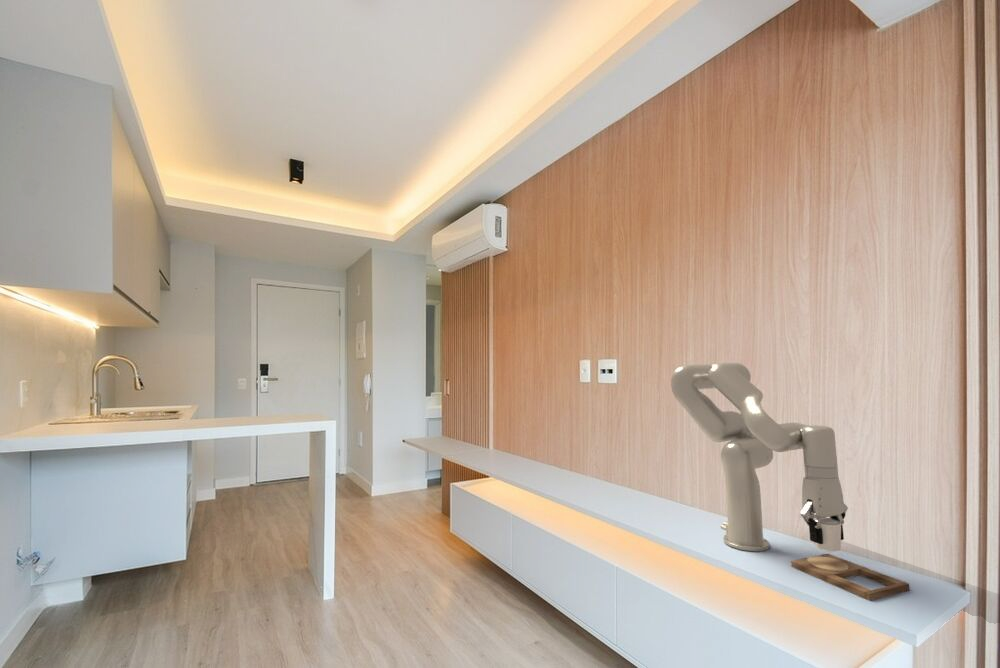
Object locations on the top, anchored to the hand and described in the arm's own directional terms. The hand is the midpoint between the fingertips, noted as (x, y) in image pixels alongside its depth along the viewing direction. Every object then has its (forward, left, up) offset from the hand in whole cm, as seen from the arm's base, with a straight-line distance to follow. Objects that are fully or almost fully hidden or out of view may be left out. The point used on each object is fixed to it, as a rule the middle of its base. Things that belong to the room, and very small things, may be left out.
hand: (826, 539), depth 126 cm
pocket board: (+5, 0, -8) cm, 9 cm away
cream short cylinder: (0, 0, -2) cm, 2 cm away
